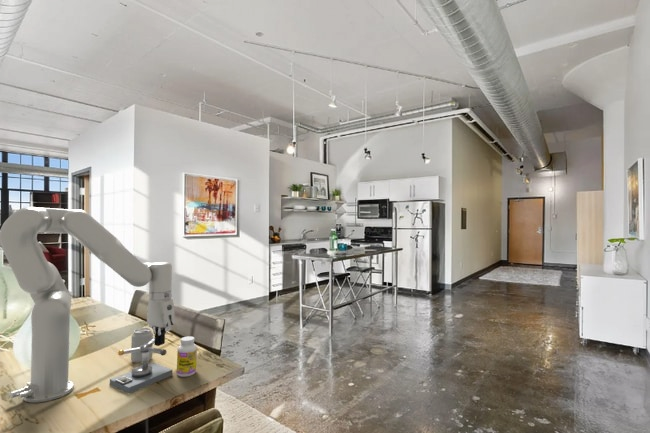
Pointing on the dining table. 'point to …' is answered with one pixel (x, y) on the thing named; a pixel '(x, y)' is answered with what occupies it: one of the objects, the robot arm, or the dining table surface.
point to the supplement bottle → (186, 357)
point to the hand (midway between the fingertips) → (159, 344)
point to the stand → (140, 379)
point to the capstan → (143, 358)
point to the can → (140, 343)
